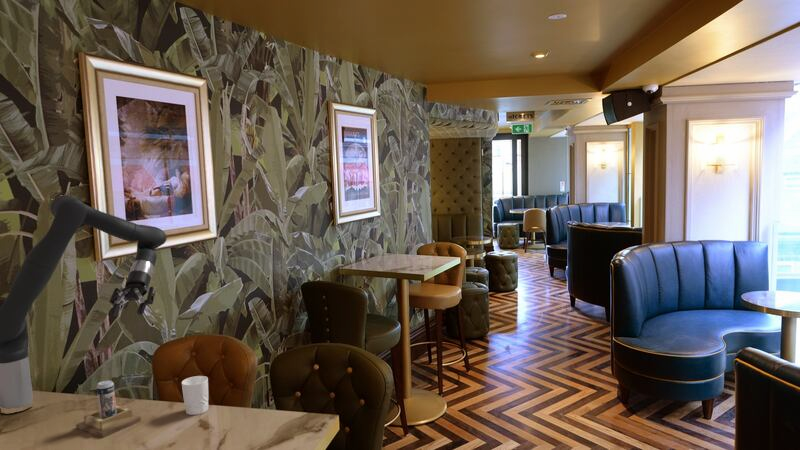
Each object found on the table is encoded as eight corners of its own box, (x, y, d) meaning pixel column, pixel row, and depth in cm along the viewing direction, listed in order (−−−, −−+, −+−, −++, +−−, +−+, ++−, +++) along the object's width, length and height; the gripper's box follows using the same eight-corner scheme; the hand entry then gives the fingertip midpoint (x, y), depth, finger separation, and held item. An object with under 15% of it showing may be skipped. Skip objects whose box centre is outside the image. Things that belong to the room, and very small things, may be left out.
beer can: (104, 425, 165) (100, 386, 164) (97, 421, 168) (93, 383, 167) (120, 419, 169) (116, 381, 168) (113, 415, 172) (109, 378, 171)
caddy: (76, 428, 167) (75, 416, 167) (114, 412, 177) (113, 401, 177) (103, 437, 160) (102, 425, 159) (140, 420, 170) (139, 409, 170)
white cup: (182, 417, 171) (180, 386, 170) (185, 407, 179) (183, 377, 178) (209, 413, 173) (206, 382, 172) (211, 403, 181) (208, 374, 180)
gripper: (116, 270, 196) (101, 309, 186) (155, 268, 196) (143, 308, 185) (125, 282, 202) (111, 321, 191) (163, 280, 201) (151, 319, 191)
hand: (126, 314), depth 188 cm, fingers open, 8 cm apart
